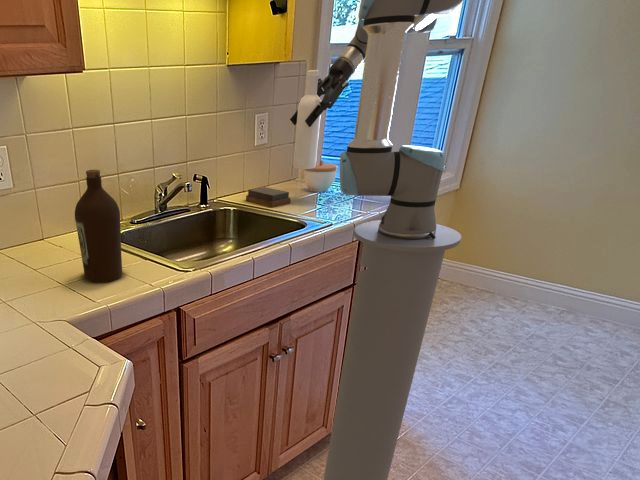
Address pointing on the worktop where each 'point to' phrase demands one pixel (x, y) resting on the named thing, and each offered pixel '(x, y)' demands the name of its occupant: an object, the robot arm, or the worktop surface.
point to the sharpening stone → (268, 197)
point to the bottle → (304, 134)
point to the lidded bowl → (320, 176)
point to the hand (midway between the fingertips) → (299, 123)
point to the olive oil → (99, 231)
